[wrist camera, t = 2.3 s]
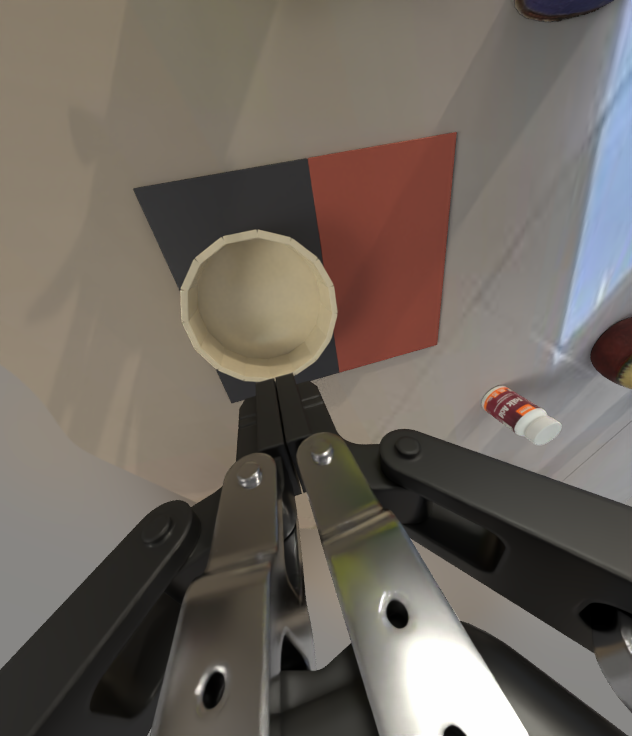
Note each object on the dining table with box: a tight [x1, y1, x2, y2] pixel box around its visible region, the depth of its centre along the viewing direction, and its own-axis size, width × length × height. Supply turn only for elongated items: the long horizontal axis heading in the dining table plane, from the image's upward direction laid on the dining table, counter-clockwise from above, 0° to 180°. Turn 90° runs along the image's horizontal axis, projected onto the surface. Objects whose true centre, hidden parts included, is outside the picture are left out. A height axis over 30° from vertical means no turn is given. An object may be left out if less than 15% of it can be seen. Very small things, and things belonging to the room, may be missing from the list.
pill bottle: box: [482, 386, 562, 445], centre depth 35 cm, size 5×5×8 cm
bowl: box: [180, 229, 338, 382], centre depth 21 cm, size 12×12×4 cm
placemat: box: [133, 132, 457, 403], centre depth 24 cm, size 26×20×1 cm
